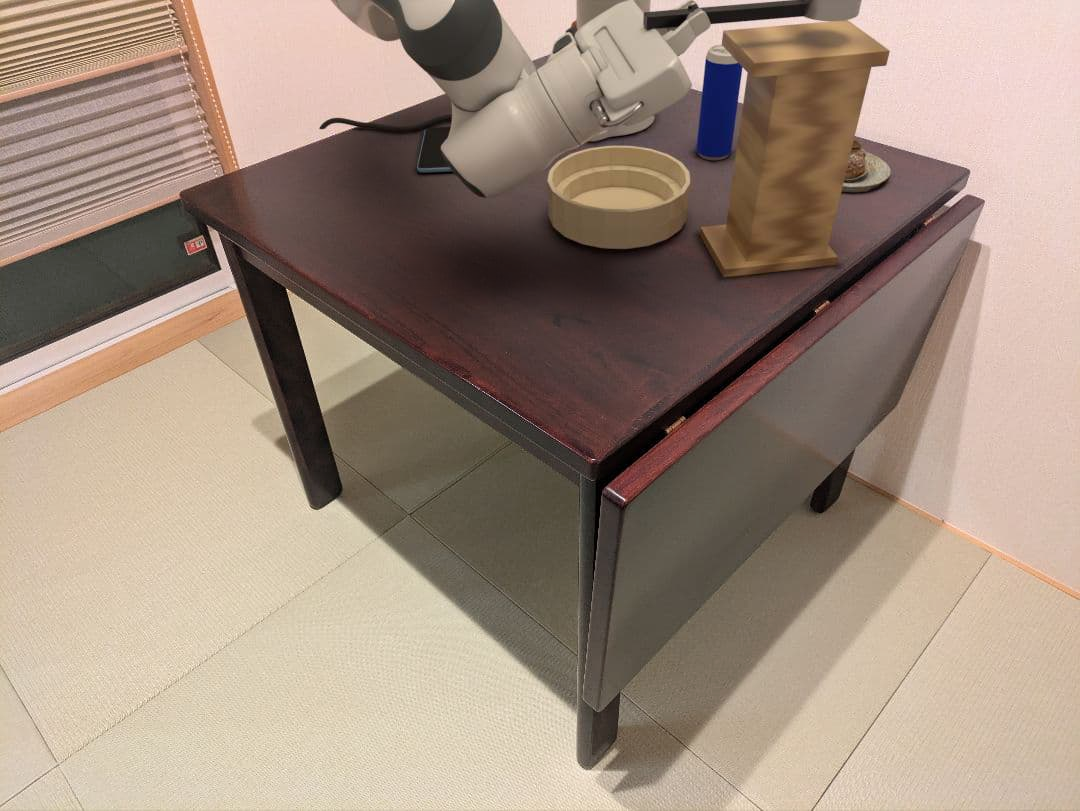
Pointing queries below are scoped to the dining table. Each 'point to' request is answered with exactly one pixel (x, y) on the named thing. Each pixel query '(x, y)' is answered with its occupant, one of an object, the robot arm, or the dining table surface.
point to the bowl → (618, 196)
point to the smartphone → (433, 150)
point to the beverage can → (718, 104)
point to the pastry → (864, 170)
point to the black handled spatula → (759, 12)
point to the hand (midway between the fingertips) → (702, 11)
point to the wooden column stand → (792, 143)
